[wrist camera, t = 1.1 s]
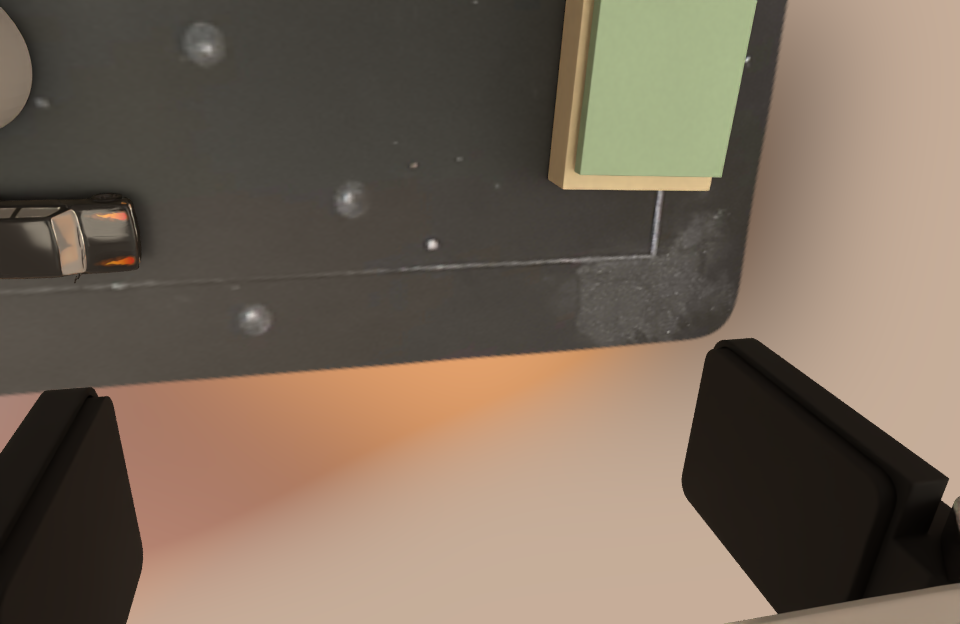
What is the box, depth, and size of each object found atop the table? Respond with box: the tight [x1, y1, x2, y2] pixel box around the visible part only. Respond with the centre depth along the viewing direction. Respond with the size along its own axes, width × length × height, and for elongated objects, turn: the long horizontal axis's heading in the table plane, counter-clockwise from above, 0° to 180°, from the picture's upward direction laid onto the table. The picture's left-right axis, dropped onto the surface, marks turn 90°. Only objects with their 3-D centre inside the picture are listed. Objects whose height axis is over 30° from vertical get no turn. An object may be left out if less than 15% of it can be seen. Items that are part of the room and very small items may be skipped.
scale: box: [548, 0, 712, 191], centre depth 33 cm, size 14×8×3 cm, turn 176°
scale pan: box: [575, 0, 757, 177], centre depth 31 cm, size 12×8×1 cm, turn 176°
